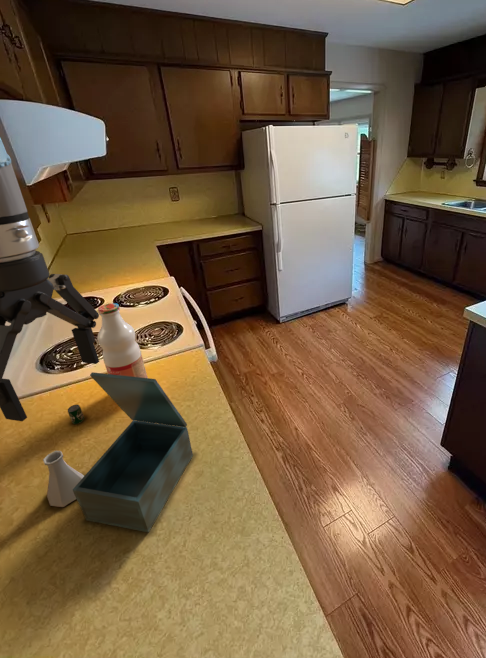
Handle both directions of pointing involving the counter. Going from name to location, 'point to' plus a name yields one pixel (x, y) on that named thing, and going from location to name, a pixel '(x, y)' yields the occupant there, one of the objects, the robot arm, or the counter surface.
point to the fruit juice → (119, 344)
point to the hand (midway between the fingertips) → (58, 387)
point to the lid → (140, 398)
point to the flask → (61, 480)
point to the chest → (135, 476)
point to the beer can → (75, 414)
